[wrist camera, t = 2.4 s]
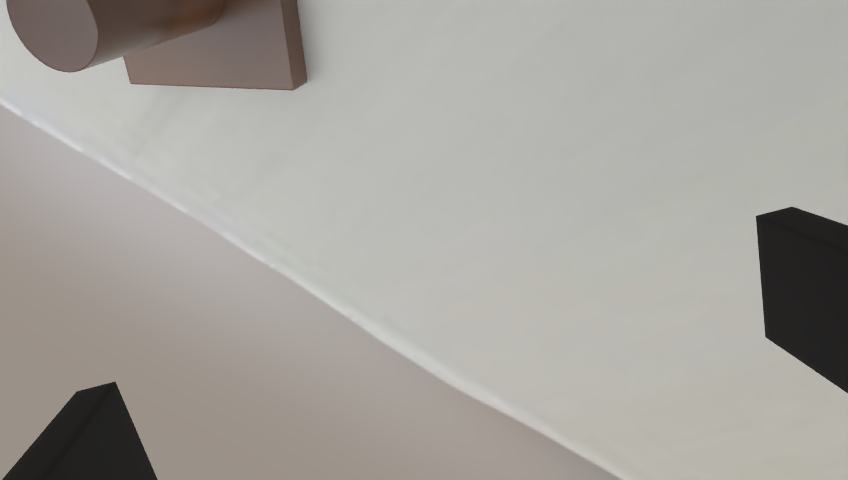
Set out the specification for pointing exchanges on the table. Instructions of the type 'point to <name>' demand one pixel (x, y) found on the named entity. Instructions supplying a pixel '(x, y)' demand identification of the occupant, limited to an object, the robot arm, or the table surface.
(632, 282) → the table surface
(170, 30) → the peg
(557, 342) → the table surface
